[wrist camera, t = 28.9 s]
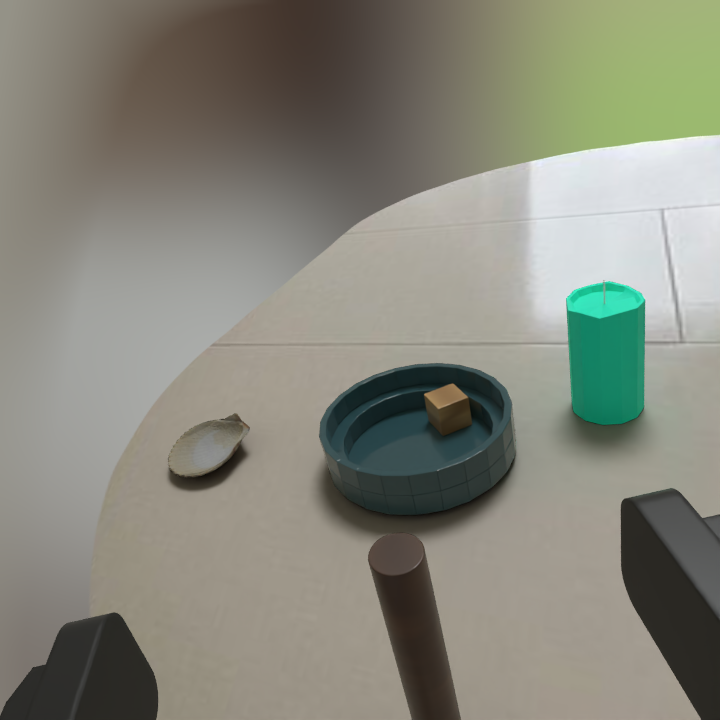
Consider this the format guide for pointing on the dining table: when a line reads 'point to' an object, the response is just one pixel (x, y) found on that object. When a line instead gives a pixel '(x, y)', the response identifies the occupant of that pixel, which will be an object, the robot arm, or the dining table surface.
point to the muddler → (414, 626)
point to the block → (448, 409)
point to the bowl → (417, 440)
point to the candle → (606, 352)
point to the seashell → (207, 446)
